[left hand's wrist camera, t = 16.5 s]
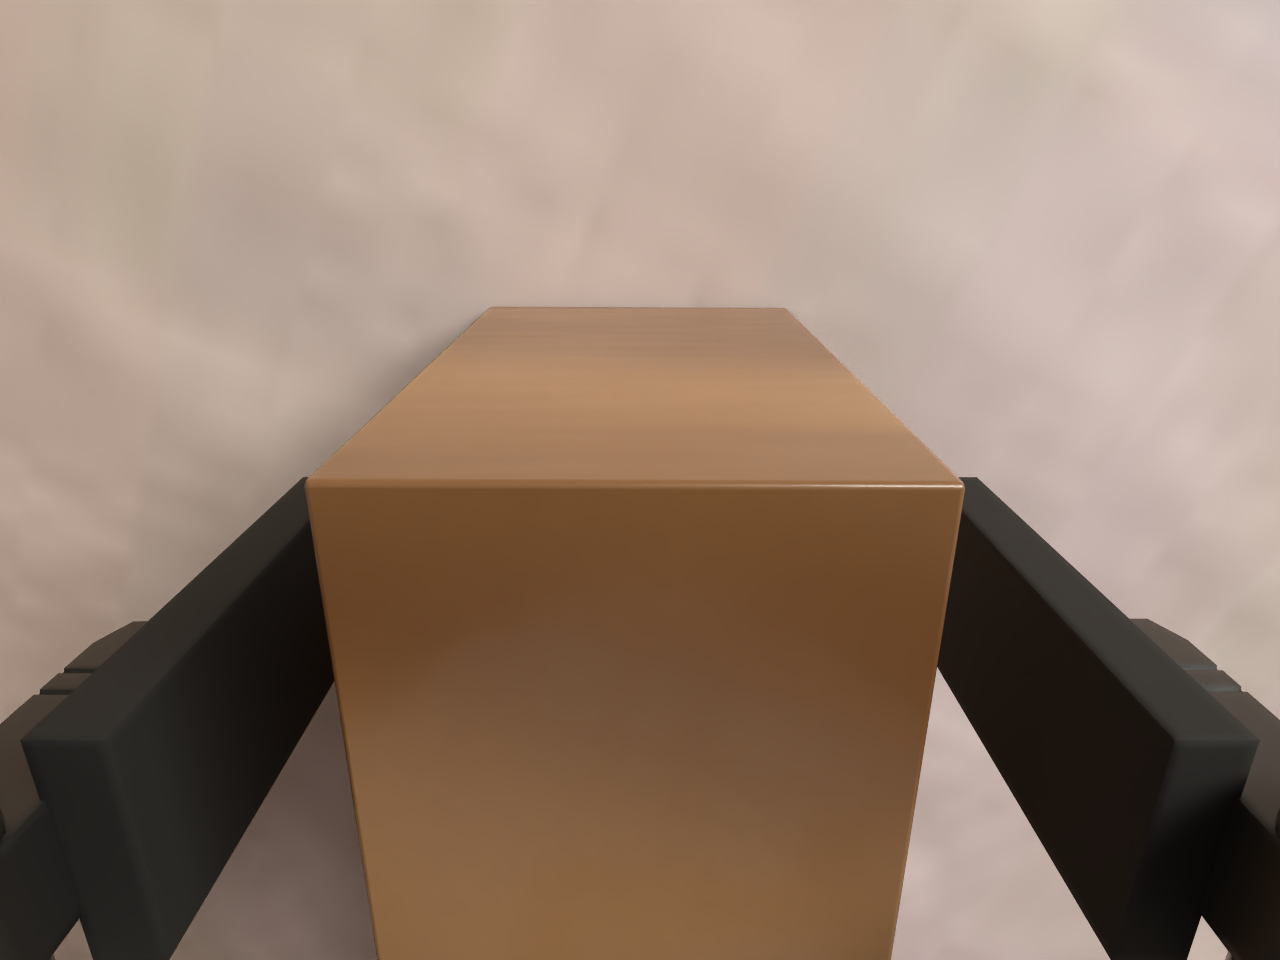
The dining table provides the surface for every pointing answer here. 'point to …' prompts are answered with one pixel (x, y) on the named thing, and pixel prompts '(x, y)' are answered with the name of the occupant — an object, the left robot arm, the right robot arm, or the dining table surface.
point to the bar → (634, 641)
